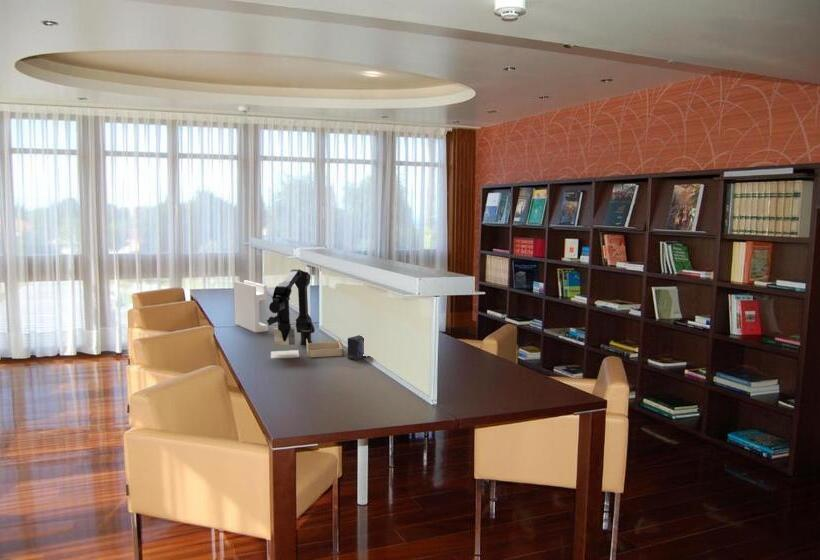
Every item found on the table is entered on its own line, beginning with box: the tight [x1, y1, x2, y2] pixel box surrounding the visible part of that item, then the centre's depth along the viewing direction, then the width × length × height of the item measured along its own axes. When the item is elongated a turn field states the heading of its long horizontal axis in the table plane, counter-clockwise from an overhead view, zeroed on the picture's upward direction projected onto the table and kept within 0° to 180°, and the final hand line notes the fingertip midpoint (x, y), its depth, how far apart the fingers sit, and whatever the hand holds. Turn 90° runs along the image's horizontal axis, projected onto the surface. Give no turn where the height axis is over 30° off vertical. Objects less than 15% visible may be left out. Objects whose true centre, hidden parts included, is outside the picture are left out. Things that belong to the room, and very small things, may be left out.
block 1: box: [233, 279, 269, 334], centre depth 396 cm, size 35×8×28 cm, turn 35°
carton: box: [305, 337, 344, 358], centre depth 327 cm, size 17×17×6 cm
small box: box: [347, 334, 367, 361], centre depth 316 cm, size 11×6×10 cm, turn 143°
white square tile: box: [270, 349, 300, 360], centre depth 323 cm, size 14×14×1 cm
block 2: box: [273, 326, 296, 347], centre depth 322 cm, size 5×10×8 cm, turn 102°
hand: (284, 340), depth 323 cm, fingers closed on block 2, 5 cm apart
